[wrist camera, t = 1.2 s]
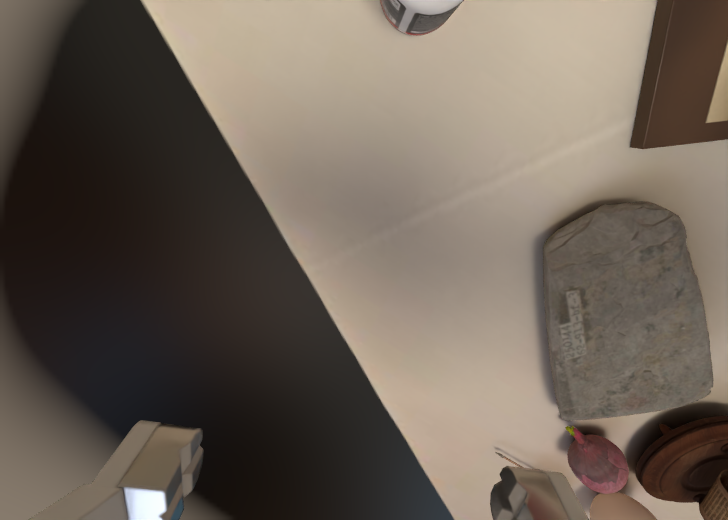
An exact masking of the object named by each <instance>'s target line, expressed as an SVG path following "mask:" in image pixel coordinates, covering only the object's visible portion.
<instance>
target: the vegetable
mask: <svg viewBox="0 0 728 520" xmlns="http://www.w3.org/2000/svg"><path fill="white" fill-rule="evenodd" d="M566 430H567V431H568V432H569V433H570V434H571V435H572V436H573V437H574V438H576V440H574V441H573V442H572V443H571V445H570V447H569V449H568V463H569V465H570V467H571V469H572V471H573V472H574V474H575V475H576V477H577V478H578V479H579V480H580V481H581V482H582V483H583V484H585V485H586V486H587V487H588V488H590V489H592V490H594V491H596V492H599V493H603V494H610V493H615V492H617V491H619V490H621V489H622V488H623V487H624V486H625V485H626V483H627V480H628V475H629V470H628V465H627V461H626V458H625V456H624V454H623V453H622V451H621V450H620V449H619V448H618V447H617V446H616V445H615V444H614V443H612V442H611V441H609V440H608V439H606V438H604V437H601V436H598V435H592V434H590V435H583V434H582V433H581V432H580V431H578V430H577V429H576V428H575V427H573V426H572V428H571V427H569V426H567V427H566Z"/></svg>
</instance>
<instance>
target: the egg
mask: <svg viewBox="0 0 728 520" xmlns="http://www.w3.org/2000/svg"><path fill="white" fill-rule="evenodd" d="M590 520H657V519H656V518H655V516H654V515H653V514H652V513H651V512H650V511H649V510H648V509H647V508H645V507H644V506H643V505H642V504H640V503H639V502H638V501H636V500H634V499H633V498H631V497H629V496H627V495H625V494H623V493H619V492H615V493H610V494H603V493H599V494H598V495H597V496H595V497H594V499H593V501H592V504H591V507H590Z"/></svg>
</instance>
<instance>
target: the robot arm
mask: <svg viewBox="0 0 728 520" xmlns="http://www.w3.org/2000/svg"><path fill="white" fill-rule="evenodd" d="M202 439H203V434H202V429H198V428H192V427H185V426H178V425H171V424H164V423H158V422H150V421H142V420H141V421H140V422H138V423H137V424H136V425H134V426H133V428H132V429H131V430H130V432H129V433H128V435H127V436H126V437H125V439H124V440H123V441H122V443H121V444H120V445H119V447H118V448H117V449H116V451H115V452H114V454H113V455H112V456H111V458H110V459H109V460H108V462H107V463H106V464H105V466H104V467H103V468H102V470H101V471H100V473H99V474H98V475H97V477H96V478H95V479H94V481H93V482H92V483H91V484H83V485H82V486H80V487H78V488H77V489H75V490H74V491H72V492H71V493H69V494H67V495H66V496H64V497H63V498H61V499H60V500H58V501H57V502H55V503H53V504H52V505H50V506H49V507H47V508H46V509H44V510H43V511H41V512H39V513H38V514H36V515H35V516H33V517H32V518H30V519H29V520H179V519H180V517H181V515H182V512H183V510H184V505H183V498H184V497H185V496H186V495H187V494H188V493H190V492H191V491H192V490H193V488H194V486H195V484H196V481H197V479H198V476H199V473H200V470H201V466H202V461H203V449H202V448H201V447H200V446H199V445H200V443H201V441H202ZM500 476H501V479H502V481H500V482H498V483H497V484H495V485H494V487H493V489H492V492H491V500H490V505H491V512H492V516H493V520H589V519H588V517H587V515H586V513H585V512H584V510H583V508H582V506H581V504H580V502H579V501H578V499H577V497H576V495H575V493H574V491H573V490H572V488H571V486H570V484H569V482H568V480H567V479H566V477H565V476H564V475H563V474H562V473H559V472H551V471H541V470H539V469H530V468H520V467H511V466H506V467H504V468H503V469H502V471H501V473H500Z"/></svg>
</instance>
